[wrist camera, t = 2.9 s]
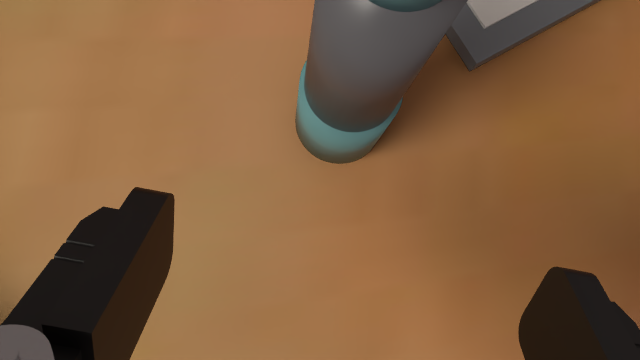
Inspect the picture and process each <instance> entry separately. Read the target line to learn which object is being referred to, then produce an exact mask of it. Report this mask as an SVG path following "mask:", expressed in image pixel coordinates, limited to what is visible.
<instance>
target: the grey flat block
mask: <svg viewBox="0 0 640 360" xmlns="http://www.w3.org/2000/svg"><path fill="white" fill-rule="evenodd" d="M598 1H600V0H468V1H467V2H466V4H465V5H464V7H463V8H462V10H461V11H460V13H459V14H458V16H457V17H456V19H455V20H454V22H453V23H452V25H451V26H450V28H449V29H448V30H447V32H446V33H445V34H446V36H447V37H448V39H449V40H450V42H451V43H452V45H453V46H454V48H455V49H456V51H457V52H458V54H459V56H460V57H461V59H462V60H463V62H464V63H465V65H466V66H467V68H468V69H469V71H471V70H473V69H475V68H477V67H479V66H481V65H482V64H484V63H486V62H488V61H490V60H492V59H494V58H495V57H497V56H499V55H501V54H503V53H505V52H506V51H508V50H510V49H512V48H514V47H516V46H517V45H519V44H521V43H523V42H525V41H527V40H528V39H530V38H532V37H534V36H536V35H538V34H540V33H541V32H543V31H545V30H547V29H549V28H551V27H552V26H554V25H556V24H558V23H560V22H562V21H563V20H565V19H567V18H569V17H571V16H573V15H575V14H576V13H578V12H580V11H582V10H584V9H586V8H587V7H589V6H591V5H593V4H595V3H597V2H598Z"/></svg>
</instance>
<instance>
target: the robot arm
mask: <svg viewBox="0 0 640 360" xmlns="http://www.w3.org/2000/svg"><path fill="white" fill-rule="evenodd" d="M173 232H174V196H173V194H171V193H165V192H160V191H155V190H149V189H144V188H139V187H135V188H134V189H133V190H132V191H131V192H130V194H129V195H128V197H127V198H126V200H125V201H124V203H123V204H122V206H121V207H120V209H113V208H108V207H102V208H100V209H99V210H97V211H96V212H94V213H92V214H91V215H89V216H87V217H86V218H84V219H83V220H81V221H80V222H79V224H78V225H77V226H76V228H75V229H74V230H73V232H72V233H71V234H70V235H69V237H68V238H67V241H66V243H63V245H62V246H61V247H60V249H59V250H58V251H57V253H56V254H55V257H54V259H51V260H50V262H49V263H48V264H47V266H46V267H45V268H44V270H43V271H42V272H41V274H40V275H39V276H38V278H37V279H36V280H35V282H34V283H33V284H32V285H31V287H30V288H29V289H28V291H27V292H26V293H25V295H24V296H23V297H22V299H21V300H20V301H19V303H18V304H17V305H16V307H15V308H14V309H13V310H12V312H11V313H10V314H9V316H8V317H7V318H6V320H5V321H4V322H3V323H2V324H1V325H0V360H130V357H131V355H132V353H133V351H134V349H135V346H136V344H137V342H138V340H139V338H140V335H141V333H142V331H143V329H144V327H145V324H146V322H147V320H148V318H149V316H150V313H151V311H152V309H153V307H154V305H155V302H156V300H157V298H158V296H159V294H160V291H161V289H162V287H163V285H164V283H165V280H166V278H167V275H168V272H169V269H170V265H171V260H172V254H173ZM519 342H520V346H521V349H522V352H523V355H524V358H525V360H640V330H639V328H638V326H637V325H636V323H635V322H634V321H633V320H632V319H631V318H630V317H629V316H628V315H627V314H626V313H625V312H624V311H623V310H622V309H621V308H620V307H619V306H618V305H617V304H616V303H615V302H611V301H610V300H609V298H608V296H607V294H606V293H605V291H604V289H603V287H602V285H601V284H600V282H599V280H598V279H597V277H596V276H595V275H594V274H592V273H588V272H583V271H577V270H572V269H566V268H561V267H553V268H551V269H550V270H549V271H548V272H547V274H546V275H545V277H544V279H543V281H542V282H541V284H540V286H539V287H538V289H537V291H536V292H535V294H534V296H533V297H532V299H531V301H530V302H529V304H528V306H527V307H526V309H525V311H524V313H523V314H522V317H521V319H520V323H519Z"/></svg>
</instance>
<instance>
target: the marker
mask: <svg viewBox="0 0 640 360" xmlns="http://www.w3.org/2000/svg"><path fill="white" fill-rule="evenodd" d="M467 1H468V0H315V4H314V11H313V19H312V26H311V34H310V41H309V49H308V56H307V61H306V62H305V64H304V66H303V69H302V71H301V76H300V82H299V91H298V100H297V109H296V119H295V123H296V130H297V134H298V137H299V139H300V141H301V142H302V144H303V145H304V147H305V148H306V149H307V150H308V151H309V152H310V153H311V154H312V155H314V156H315V157H317V158H319V159H321V160H323V161H326V162H330V163H336V164H343V163H350V162H353V161H356V160H358V159H360V158H362V157H363V156H365V155H366V154H367V153H368V152H369V151H370V150H371V149H372V148H373V147H374V145H375V144H376V142H377V141H378V140H379V138H380V137H381V135H382V134H383V133H384V131H385V130H386V128H387V127H388V126H389V124H390V123H391V121H392V120H393V118H394V117H395V116H396V114H397V113H398V110H399V108H400V106H401V103H402V99H403V96H404V94H405V93H406V91H407V90H408V88H409V87H410V85H411V84H412V82H413V81H414V79H415V78H416V76H417V75H418V73H419V72H420V70H421V69H422V67H423V66H424V64H425V63H426V62H427V60H428V59H429V57H430V56H431V54H432V53H433V51H434V50H435V48H436V47H437V45H438V44H439V42H440V41H441V39H442V38H443V36H444V35H445V33H446V32H447V30H448V29H449V28H450V26H451V25H452V23H453V22H454V20H455V19H456V17H457V16H458V14H459V13H460V11H461V10H462V8H463V7H464V5H465V4H466V2H467Z"/></svg>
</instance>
